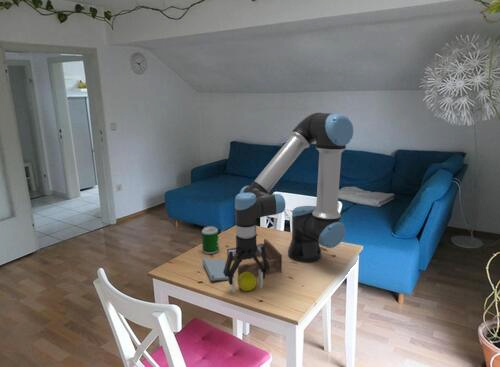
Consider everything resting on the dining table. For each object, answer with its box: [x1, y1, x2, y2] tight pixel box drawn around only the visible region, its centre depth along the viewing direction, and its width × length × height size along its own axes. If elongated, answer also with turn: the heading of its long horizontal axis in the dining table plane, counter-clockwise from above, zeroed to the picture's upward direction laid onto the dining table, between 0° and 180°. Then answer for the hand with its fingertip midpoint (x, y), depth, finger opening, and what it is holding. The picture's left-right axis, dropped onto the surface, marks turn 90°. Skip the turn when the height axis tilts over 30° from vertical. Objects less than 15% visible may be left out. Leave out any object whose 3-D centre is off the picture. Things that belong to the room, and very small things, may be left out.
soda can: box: [201, 225, 220, 255], centre depth 173 cm, size 8×8×12 cm
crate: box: [226, 238, 283, 279], centre depth 158 cm, size 19×18×8 cm
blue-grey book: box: [202, 257, 229, 281], centre depth 154 cm, size 2×17×9 cm
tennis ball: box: [237, 272, 257, 292], centre depth 140 cm, size 7×7×7 cm
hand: (247, 288), depth 141 cm, fingers open, 10 cm apart
